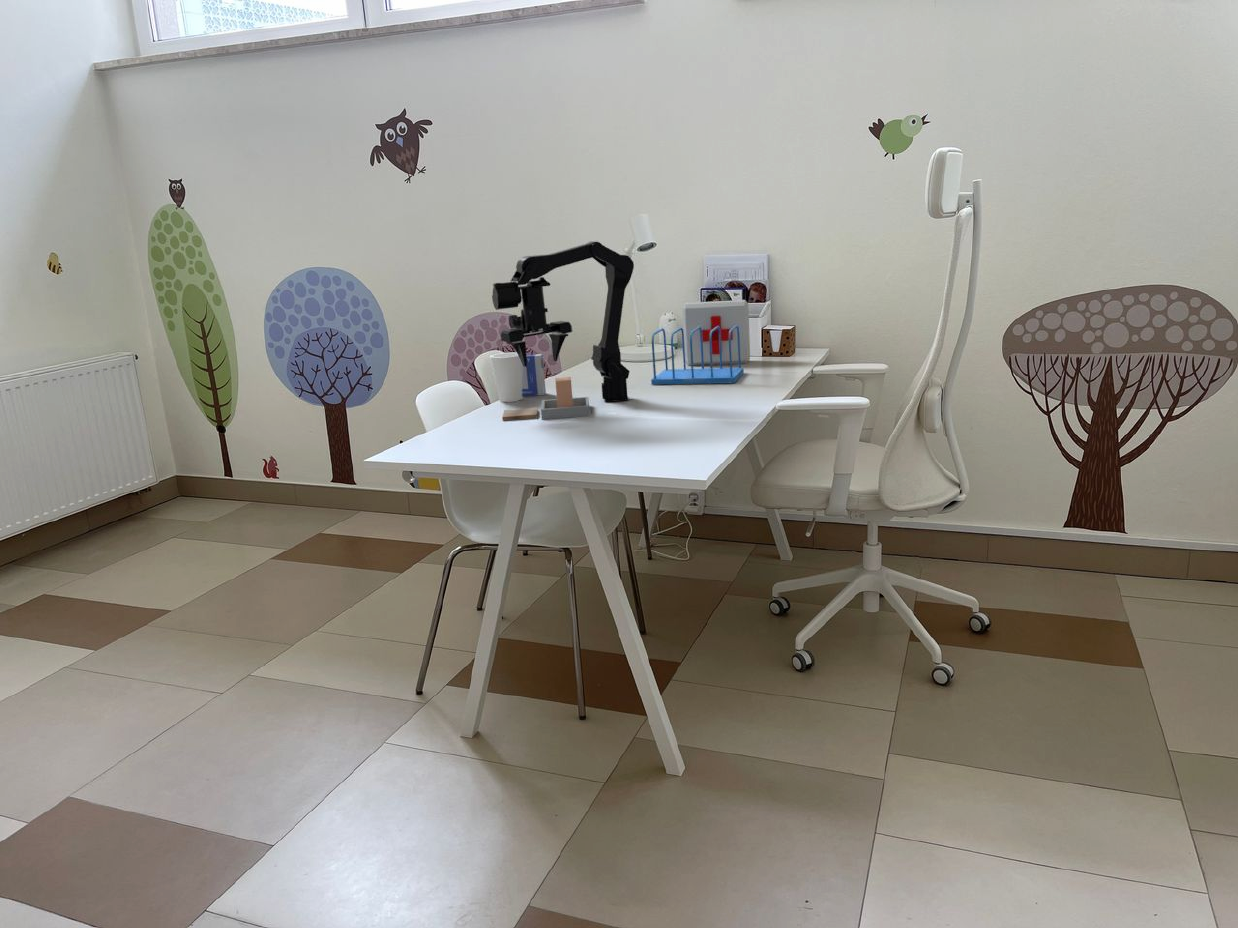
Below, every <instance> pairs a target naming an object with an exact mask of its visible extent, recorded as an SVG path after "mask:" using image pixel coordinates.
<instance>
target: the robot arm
mask: <svg viewBox="0 0 1238 928" xmlns="http://www.w3.org/2000/svg"><path fill="white" fill-rule="evenodd" d="M588 259H593V260H595V261H596V262H597V263H598V264H599V265H600V266H602V267H604V268H605V269H604V270H605V279H606V280H605V281H606V283H607V295H606V302H605V309H604V317H603V318H604V319H603V325H602V334H601V338H600V341H599V343H598V345H597V344H593V346H592V356H591V358H590V360H592V364H593V367H594V368H595V369H596V371H598V372H599V373H600V376H601V377H602V380H603V382H601V394H602V395H601V396H602V400H604V402H605V403H608V402H610V403H611V402H621V401H624V402H625V401H629V396H628V387H627V386H628V385H627V379H629V375H630V370H629V369H628V368H627V367H626V366H625V365H623V364H622V363H621V362H622V360H621V359H622V357H621V354H622V352H621V350H620V344H619V336H620V329H621V328H620V327H621V322H622V314H623V307H624V299H625V293H626V288H627V287H628V284H629V283H630V281H631V278H632V275H633V272H634V269H635V264H634V261H633V260H632V259H633V258H631V257H630V256H628V255H627V254H620V253H618V252H617V251H615V250H613V249H611V248H609V247H607V246H605V245H603V244H602V243H601V242H599V241H589V242H586V243H585V244H580V245H578V246H574V247H570V248H566V249H563V250H560V251H556V252H553V253H549V254H535V255H525V256H522V257H519V259H518V260H517V263H516V267H515V269H516V270H515V272H514V274H513V275H512V278H511V280H510V281H509V282H508V281H506V282H494V283H493V284H492V286H493V288H492V295H491V299H492V304H493V307H494V309H495V310H496V311H498V310H499V311H500V310H505V309H513V308H518V307H519V304H521V303H522V309H520V316H518V315H517V314H512V315H509V316H508V317H507V319H508V326H509V328H510V329H504V330H502V331H501V334H500V339H501V340H500V342H505V343H506V345H511V347H513V348H514V350H515V352H517V354H518V356H519V358H520V360H521V362H522V364H523V366H524V367H526V366H527V356H526V355H527V345H526V341H524V338H527V337H533V336H540V335H545V334H548V336H549V338H550V340H551V351H552V359H553V362H557V361H558V358H559V355H560V352H561V349H562V346H563V345H564V342H565V340H566V337H569V333H572V332H573V326H572V324H571V322H569V321H564V320H558V321H552V322H549V323H547V322H548V321H547V315H546V313H548V312H549V311H548V307H546V305H545V297H544V288H543V287H550V286H551V283H550V282H549V281H547V280H546V278H545V277H543V276H545V275H546V274H548V273H551V272H552V271H553V270H556V269H558V268H561V267H564V266H568V265H571V264H575V263H579V262H581V261H585V260H588ZM536 279H537V280H536Z"/></svg>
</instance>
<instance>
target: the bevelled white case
mask: <svg viewBox="0 0 1238 928" xmlns="http://www.w3.org/2000/svg"><path fill="white" fill-rule="evenodd" d="M749 307H750V306H749V302H747V300H746V299H737V300H718V301H697V302H696V301H695V302H686V303H685V304H684V305H683V307H682V308H681V310H682V311H681V312H682V325H683V326H682V328H683V332H684V346H685V364H686V365H687V366H689V367H691V352H690V334H691V332H692V331H693V330H695V329H696V328H698V327H701V329H702V339H703V360H704V366H711V365H710V344H709V336H710V331H711V330H713V329H714V328H715V327H717V326H719V327H720V331H721V350H722V365H730V357H729V331H730V330H731V329H732V328H733V327H734V326H736V325H738V327H739V337H740V360H741V365H742V364H747V363H748V362H749V361H750V359H751V346H750V345H751V344H750V343H751V340H750V338H751V337H750V313H749V312H750V311H749V310H750V309H749ZM711 343H712V366H714V365H716V366H717V365H719V366H720V350H719V331H718V329H716V330H715V331H714V332H712V337H711ZM692 352H693V367H694V366H702V358H701V339H700V330H699V329H698V330H697V331H695V332H694V333H693V334H692ZM731 356H732V365H739V360H738V337H737V328H735V329H734V330H733V331H732V332H731Z"/></svg>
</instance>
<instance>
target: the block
mask: <svg viewBox="0 0 1238 928" xmlns="http://www.w3.org/2000/svg"><path fill="white" fill-rule="evenodd" d="M572 389H573V387H572V376H566V377H564V376H563V377H555V390H556V399H557V405H558V408H562V407H573V399H572V398H573V390H572Z"/></svg>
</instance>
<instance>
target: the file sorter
mask: <svg viewBox="0 0 1238 928" xmlns="http://www.w3.org/2000/svg"><path fill="white" fill-rule="evenodd" d="M735 328H737V337H738V360H739V364H738V367H733V364H732V356H731V332H732V331H733V330H734V329H735ZM698 329H699V330H700V339H701V358H702V365H701V368H694V366H693V352H692V334H693V333H694V332H695V331H697V330H698ZM716 329H718V331H719V350H720V364H719V367H715V368H714V365H712V343H711V337H712V332H714V331H715V330H716ZM680 331H681V340H682V342H681V343H682V360H683V361H682V362H683V368H677V369H675V354H674V353H675V352H674V335H675V334H677V333H678V332H680ZM660 332H662V335H663V345H664V346H663V347H664V358H665V359H664V361H665V362H664V363H665V369H664V370H662V371H660V372H659V373H658V374H657V372H656V370H657V369H656V356H655V342H654V341H655V336H656V334H658V333H660ZM670 337H671V338H670V349H671V368H672V369H668V367H669V366H668V350H667V340H666V338H667V337H666V331H665V329H664V328H663V327H662V328H660V329H658V330H656V331H654V332H653V333H652V335H651V351H652V352H651V354H652V367H653V368H652V369H653V378H651V380H650V382H651V385H654V386H658V385H660V386H661V385H662V386H663V385H689V384H691V385H692V384H693V385H697V384H735V383H736V381H738V380H739V378H740V377H741V376H742V375H743V374H744V373H745V371H744V367H742V366H741V365H742V364H741V360H740V337H739V327H738V325H736V326H734V327H733V328H732V329H731V330H730V331H729V357H730V364H729V367H723V364H722V350H721V331H720V327H719V326H717V327H715V328H714V329H713V330H711V331H710V336H709V344H710V365H709V366H710V368H709V367H706V368H705V365H704V360H703V339H702V329H701V327H698V328H696V329H695V330H693V331H692V332H691V334H690V352H691V366H690V368H686V365H687V364H686V363H685V346H684V332H683V327H679V328H677V329H676V330H674V331H672V333H671V336H670Z"/></svg>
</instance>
